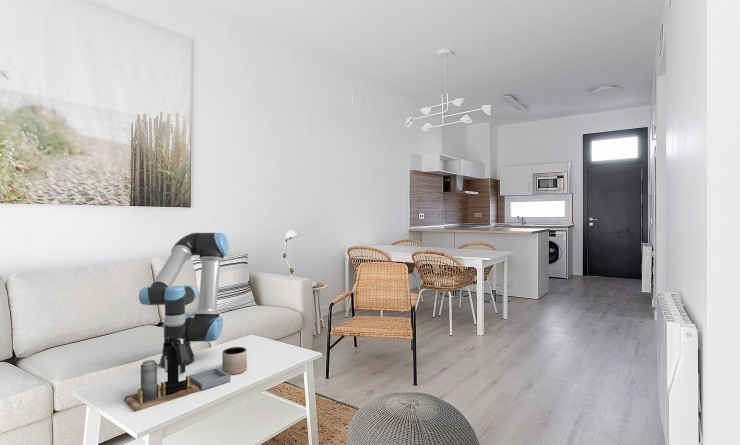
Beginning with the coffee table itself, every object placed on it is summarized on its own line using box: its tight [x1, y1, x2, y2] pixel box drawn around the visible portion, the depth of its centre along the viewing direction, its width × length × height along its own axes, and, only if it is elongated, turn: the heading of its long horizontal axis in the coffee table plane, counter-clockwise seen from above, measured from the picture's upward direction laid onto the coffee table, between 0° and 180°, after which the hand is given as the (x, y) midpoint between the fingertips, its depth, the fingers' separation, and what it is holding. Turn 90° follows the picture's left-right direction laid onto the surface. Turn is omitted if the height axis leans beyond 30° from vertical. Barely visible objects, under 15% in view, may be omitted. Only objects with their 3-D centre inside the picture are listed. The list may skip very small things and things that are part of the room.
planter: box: [221, 346, 248, 376], centre depth 189 cm, size 11×11×10 cm
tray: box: [188, 367, 231, 392], centre depth 176 cm, size 13×13×3 cm
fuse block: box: [123, 359, 200, 412], centre depth 162 cm, size 13×24×15 cm, turn 137°
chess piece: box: [162, 342, 187, 396], centre depth 166 cm, size 8×8×20 cm
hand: (175, 375), depth 166 cm, fingers open, 13 cm apart
